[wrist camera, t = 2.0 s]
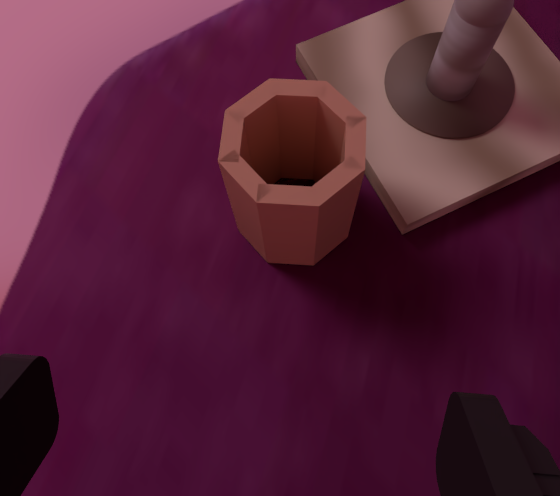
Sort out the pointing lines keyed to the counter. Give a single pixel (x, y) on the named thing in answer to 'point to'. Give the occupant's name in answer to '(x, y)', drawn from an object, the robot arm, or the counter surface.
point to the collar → (293, 168)
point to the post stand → (443, 100)
